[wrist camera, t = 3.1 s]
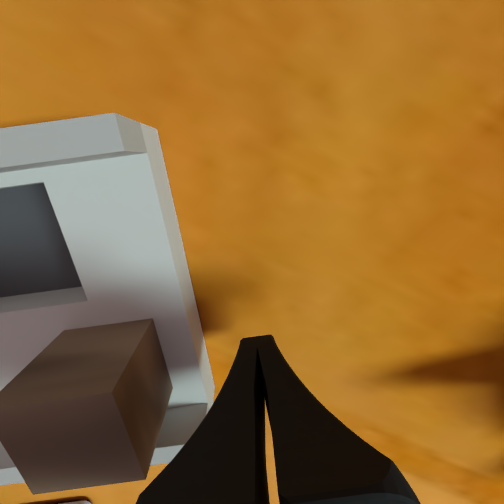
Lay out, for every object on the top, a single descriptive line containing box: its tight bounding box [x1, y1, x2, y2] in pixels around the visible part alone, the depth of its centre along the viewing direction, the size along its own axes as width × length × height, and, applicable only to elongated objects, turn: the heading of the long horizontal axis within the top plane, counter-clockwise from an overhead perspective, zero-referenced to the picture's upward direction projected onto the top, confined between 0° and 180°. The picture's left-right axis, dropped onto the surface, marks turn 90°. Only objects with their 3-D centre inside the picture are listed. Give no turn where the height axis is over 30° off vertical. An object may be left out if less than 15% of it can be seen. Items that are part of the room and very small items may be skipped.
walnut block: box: [0, 318, 173, 494], centre depth 11 cm, size 4×4×4 cm
